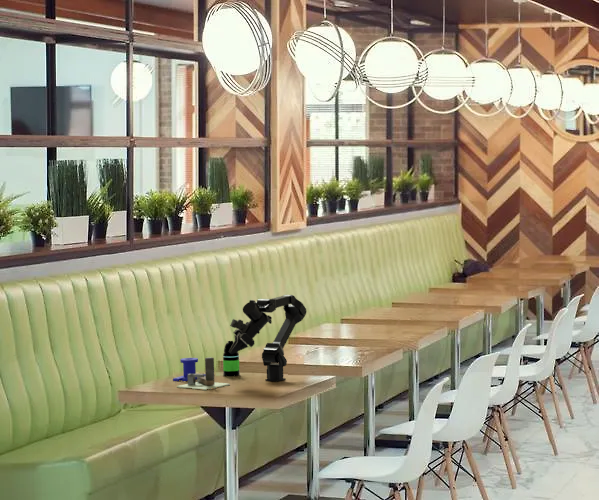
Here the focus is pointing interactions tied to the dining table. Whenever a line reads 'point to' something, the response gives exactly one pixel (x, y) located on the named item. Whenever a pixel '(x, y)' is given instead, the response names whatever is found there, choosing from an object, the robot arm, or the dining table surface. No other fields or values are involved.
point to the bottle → (230, 361)
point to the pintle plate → (203, 385)
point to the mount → (187, 368)
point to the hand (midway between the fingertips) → (230, 353)
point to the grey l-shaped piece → (208, 372)
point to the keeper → (193, 378)
